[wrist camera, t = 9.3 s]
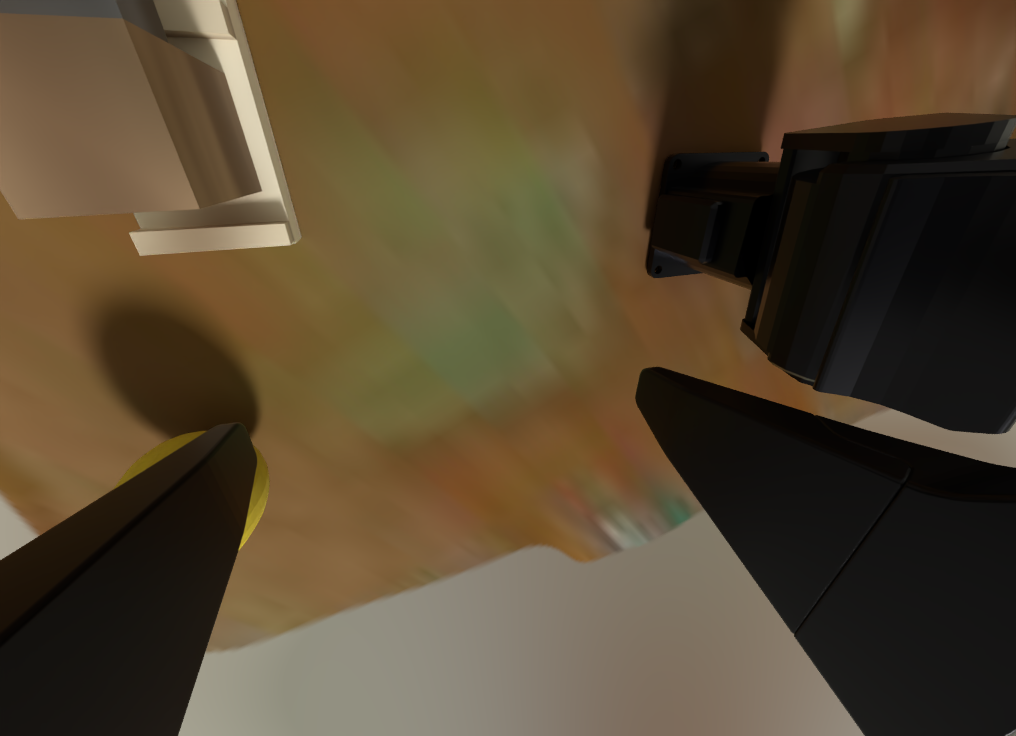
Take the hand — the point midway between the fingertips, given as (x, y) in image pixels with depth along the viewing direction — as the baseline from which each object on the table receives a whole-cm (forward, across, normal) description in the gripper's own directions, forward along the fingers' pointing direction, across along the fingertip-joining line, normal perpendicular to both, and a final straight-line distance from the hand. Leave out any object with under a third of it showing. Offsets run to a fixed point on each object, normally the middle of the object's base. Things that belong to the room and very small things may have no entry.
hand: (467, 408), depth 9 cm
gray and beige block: (+11, +8, -6) cm, 14 cm away
